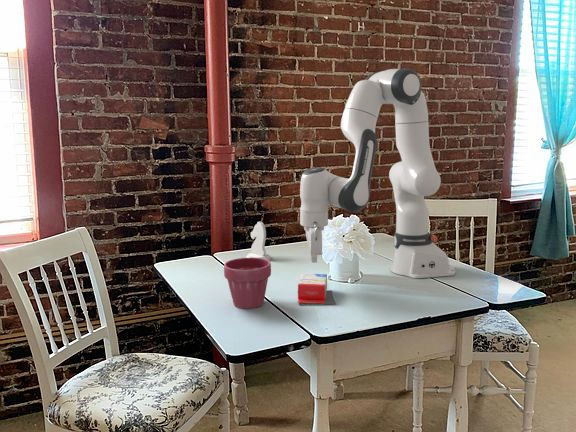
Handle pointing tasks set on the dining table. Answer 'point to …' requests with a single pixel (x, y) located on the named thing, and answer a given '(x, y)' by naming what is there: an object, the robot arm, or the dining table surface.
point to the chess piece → (259, 242)
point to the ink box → (312, 288)
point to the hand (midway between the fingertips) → (314, 261)
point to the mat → (328, 300)
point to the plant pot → (247, 280)
